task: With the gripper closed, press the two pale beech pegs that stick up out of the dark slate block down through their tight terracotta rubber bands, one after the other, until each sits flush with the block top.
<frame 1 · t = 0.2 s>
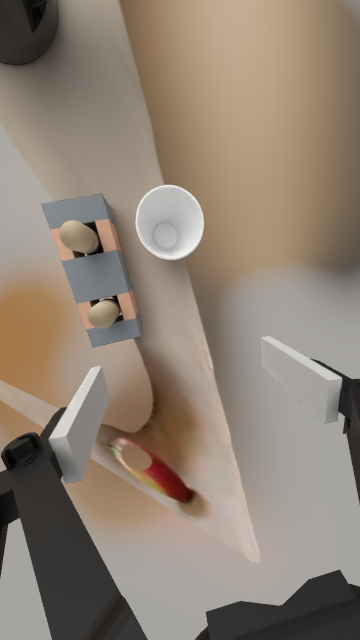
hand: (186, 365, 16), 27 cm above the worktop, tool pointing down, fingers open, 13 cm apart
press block: (104, 275, 39), on the worktop
peg 2: (82, 238, 31), point 7 cm above the worktop, slide at 4.0 cm
cup: (165, 236, 39), on the worktop
peg 1: (105, 312, 34), point 7 cm above the worktop, slide at 4.0 cm
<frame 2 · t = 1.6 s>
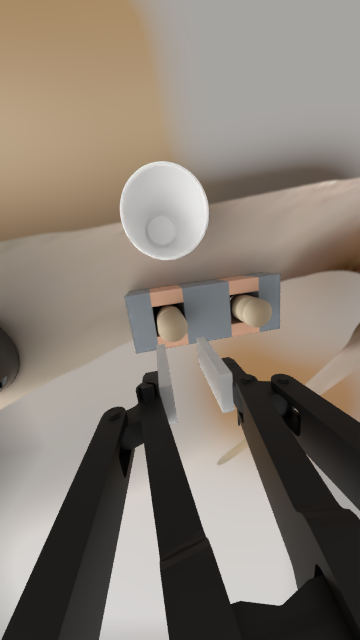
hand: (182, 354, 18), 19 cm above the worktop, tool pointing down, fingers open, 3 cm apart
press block: (199, 306, 36), on the worktop
peg 2: (170, 321, 29), point 7 cm above the worktop, slide at 4.0 cm
cup: (161, 231, 32), on the worktop
peg 1: (248, 309, 30), point 7 cm above the worktop, slide at 4.0 cm
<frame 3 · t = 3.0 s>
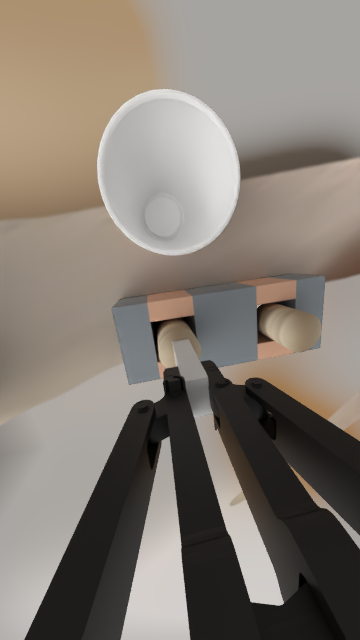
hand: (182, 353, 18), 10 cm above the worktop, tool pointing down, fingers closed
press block: (211, 317, 28), on the worktop
peg 2: (176, 341, 21), point 7 cm above the worktop, slide at 3.4 cm, touching gripper
cup: (162, 218, 24), on the worktop
peg 1: (282, 324, 22), point 7 cm above the worktop, slide at 4.0 cm
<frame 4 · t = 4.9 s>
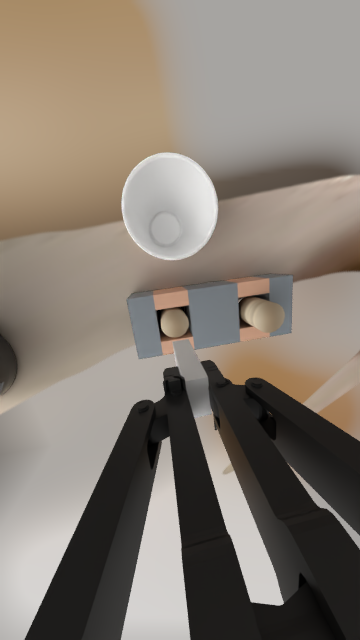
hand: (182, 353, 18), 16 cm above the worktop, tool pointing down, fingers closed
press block: (205, 309, 35), on the worktop
peg 2: (173, 319, 31), point 3 cm above the worktop, slide at 0.0 cm
cup: (165, 229, 31), on the worktop
peg 1: (258, 312, 28), point 7 cm above the worktop, slide at 4.0 cm
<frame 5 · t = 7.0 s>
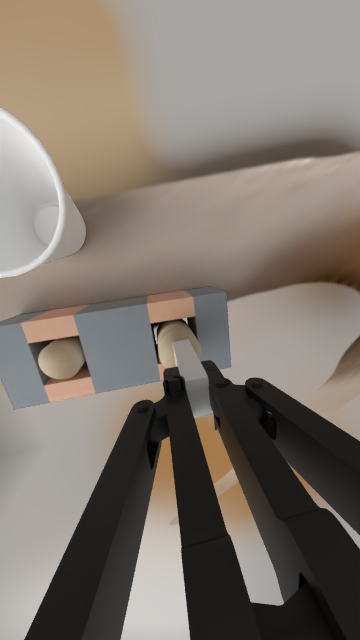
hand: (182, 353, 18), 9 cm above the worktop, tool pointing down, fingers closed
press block: (126, 332, 27), on the worktop
peg 2: (71, 349, 23), point 3 cm above the worktop, slide at 0.0 cm
cup: (59, 228, 23), on the worktop
peg 1: (176, 341, 21), point 6 cm above the worktop, slide at 2.9 cm, touching gripper
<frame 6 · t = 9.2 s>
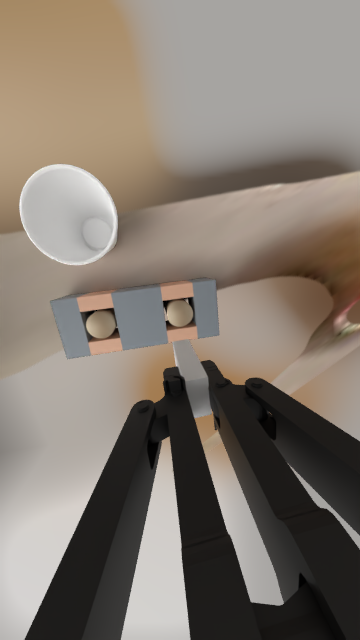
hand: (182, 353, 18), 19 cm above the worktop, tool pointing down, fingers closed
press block: (143, 311, 36), on the worktop
peg 2: (105, 320, 32), point 3 cm above the worktop, slide at 0.0 cm
cup: (98, 234, 32), on the worktop
peg 1: (177, 310, 33), point 3 cm above the worktop, slide at 0.0 cm
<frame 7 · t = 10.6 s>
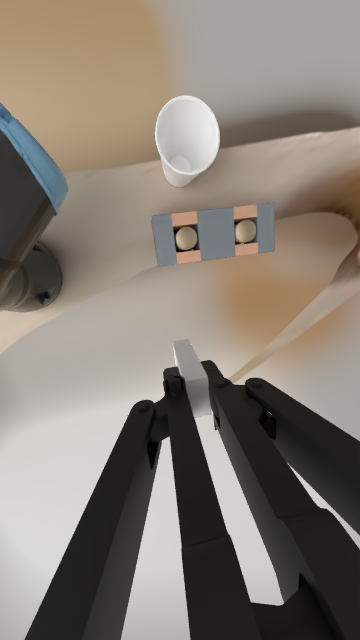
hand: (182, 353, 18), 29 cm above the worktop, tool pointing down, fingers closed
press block: (208, 238, 44), on the worktop
peg 2: (184, 240, 40), point 3 cm above the worktop, slide at 0.0 cm
cup: (178, 171, 40), on the worktop
peg 1: (240, 233, 42), point 3 cm above the worktop, slide at 0.0 cm
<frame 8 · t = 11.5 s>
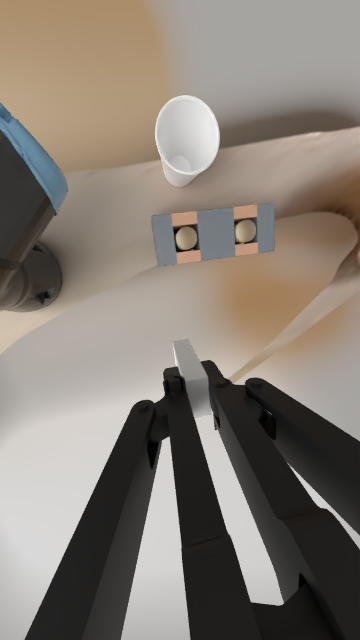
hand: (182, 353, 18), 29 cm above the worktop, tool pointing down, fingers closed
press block: (208, 238, 44), on the worktop
peg 2: (184, 240, 40), point 3 cm above the worktop, slide at 0.0 cm
cup: (178, 171, 40), on the worktop
peg 1: (239, 233, 42), point 3 cm above the worktop, slide at 0.0 cm
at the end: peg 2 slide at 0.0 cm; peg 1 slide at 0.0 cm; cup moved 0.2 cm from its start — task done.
